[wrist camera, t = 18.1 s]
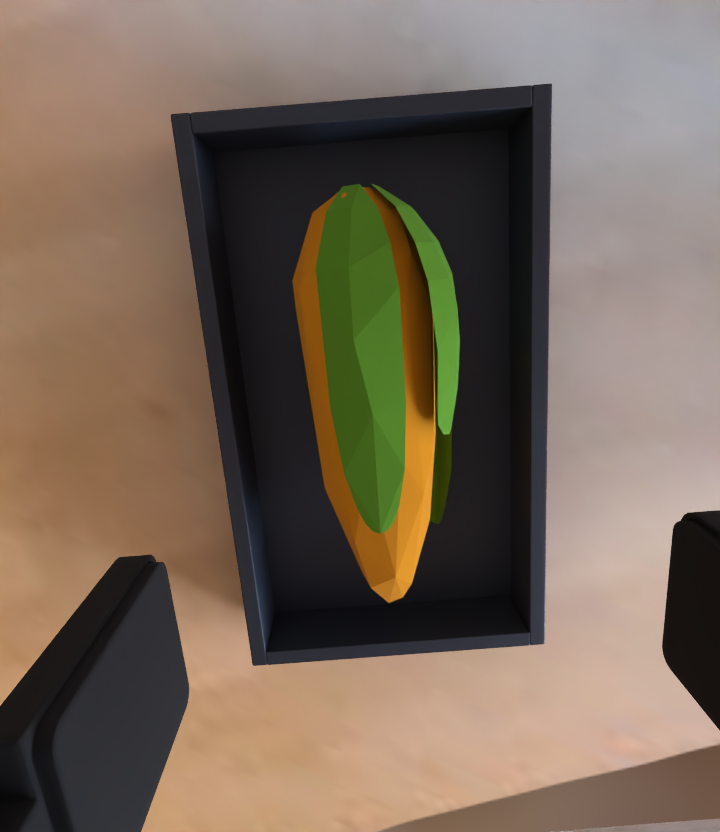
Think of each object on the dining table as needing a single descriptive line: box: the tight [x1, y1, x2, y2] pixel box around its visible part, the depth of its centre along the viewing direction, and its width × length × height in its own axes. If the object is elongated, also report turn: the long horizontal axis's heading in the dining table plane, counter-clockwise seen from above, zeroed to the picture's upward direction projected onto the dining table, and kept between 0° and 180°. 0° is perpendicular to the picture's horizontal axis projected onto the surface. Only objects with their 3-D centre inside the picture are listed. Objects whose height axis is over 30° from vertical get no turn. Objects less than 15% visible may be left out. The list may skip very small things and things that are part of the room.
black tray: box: [171, 84, 552, 666], centre depth 27 cm, size 16×27×4 cm, turn 4°
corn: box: [292, 184, 460, 603], centre depth 25 cm, size 7×8×20 cm
